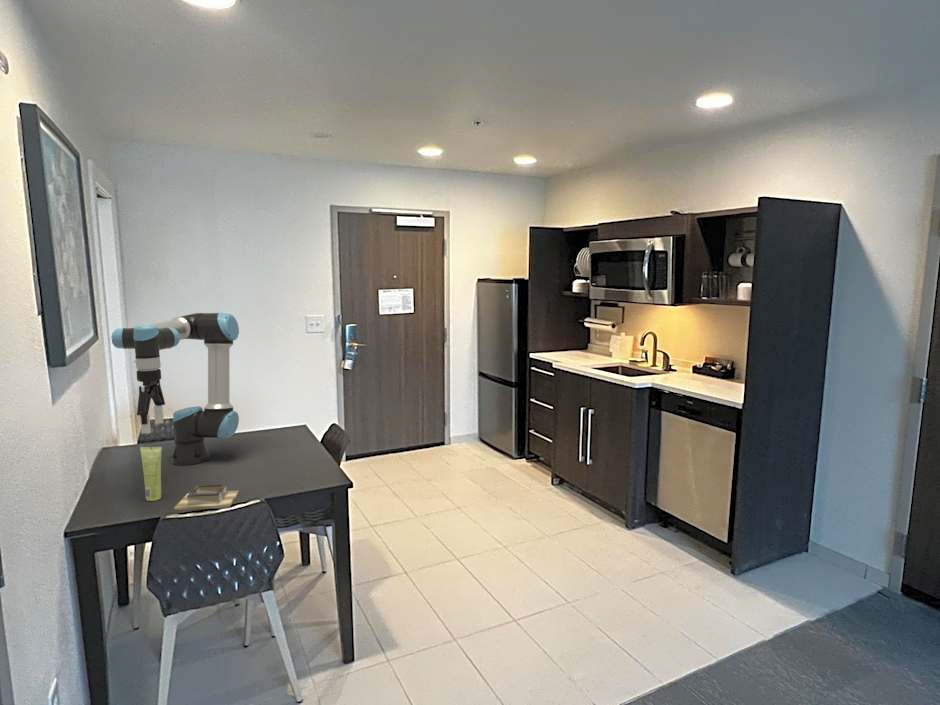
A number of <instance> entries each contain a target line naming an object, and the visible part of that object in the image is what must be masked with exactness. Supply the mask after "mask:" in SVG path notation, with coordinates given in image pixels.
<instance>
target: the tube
mask: <svg viewBox="0 0 940 705" xmlns="http://www.w3.org/2000/svg"><path fill="white" fill-rule="evenodd" d="M139 450H140V451H139V452H140V458H141V463H142V471H143V472H142V473H143V480H144V491H145V501H148V502H155V501H158V500H160V499H162V480H161V479H162V450H163V447H162V446H140V447H139Z"/></svg>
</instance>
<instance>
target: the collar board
mask: <svg viewBox="0 0 940 705" xmlns="http://www.w3.org/2000/svg"><path fill="white" fill-rule="evenodd" d="M239 494H240V490H228V484H227V483H216V484H213V483H212V484H197V485H195V486H194V488H193V489H191V491H190V492H187V493H186V494H185V496H183V498H181V500H180V501H179V502H178V503H177V504H176V505H175V506H174V508H173V509H174V511H191V510H193V511H194V510H209V509H228V508H230V507H231V506H232V505H233V502H234V501H235V500H236V498H237V497H238V495H239Z"/></svg>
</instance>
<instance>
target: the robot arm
mask: <svg viewBox="0 0 940 705" xmlns="http://www.w3.org/2000/svg"><path fill="white" fill-rule="evenodd" d="M238 323H239V322H238V321H237V318H236V317H235V316H234V315H232V314H231V313H224V312H196V313H191V314H186V315H182V316H178V317H173V318H172V319H171V320H168V321H167V320H166V321H162V322H157V323H152V324H145V325H144V324H143V325H142V324H141V325H137V326H134V327H127V328H125V327H122V328H121V327H120V328H119V327H118V328H115V329H114V330H113V332H112V333H111V343H112V345H113V346H114V348H117V349H124V350H126V349H127V350H130V349H131V350H132V349H133V350H134V353H135V354H134V356H135V360H134V361H133V362H134V364H135V368H136V381H137V382H142V385H140V386H138V401H137V411H136V415H137V416H139V417H140V429H141V434H151V428H152V427H151V420H150V419H151V417H150V413H149V411H150V405H151V400H152V402H153V403H154V406H153V412H154V413H153V414H154V425H156V424H164V423H165V422H164V421H165V420H164V411H163V410H164V409H163V406H165V405H166V402H165V398H164V395H163V394H164V393H163V391H162V387H161V379H162V370H161V369H160V368H161V365H162V364H161V357H160V351H162V350H167V349H172V348H174V347H177V346H178V345H179V343H180V341H181V340H196V341H197V340H198V341H203V342H204V343H203V345H205V346H206V348H207V403H206V405H205V406H204V408H203V406H200V405H199V406H197V405H196V406H191V407H185V408H181V409H178V410H175V411H174V413H173V416H172V423H173V437H174V447H173V450H172V454H171V456H170V457H171V458H170V460H171V462H170V463H171V464H173V465H176V466H191V465H196V464H201V463H204V462H207V461H208V460H210V451H209V449H208V447H207V445H206V443H205V438H209V439H211V438H212V439H213V438H215V439H227V438H228V439H229V438H231V437H233V435H234V434H235V433H236V431H237V429H238V427H239V423H240V422H239V421H240V419H239V418H240V416H239V414H238V412H237V411H235V410H234V406H233V404H231V403H230V348H231V347H232V346H233V345H234V341H236V340H238V337H239V334H240V329H239V328H240V327H239V324H238Z"/></svg>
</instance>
